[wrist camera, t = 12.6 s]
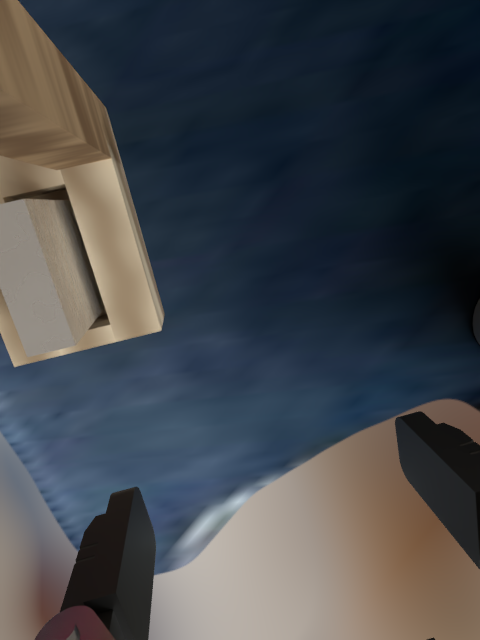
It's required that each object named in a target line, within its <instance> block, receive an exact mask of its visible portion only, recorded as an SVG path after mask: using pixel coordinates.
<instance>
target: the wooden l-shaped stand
mask: <svg viewBox="0 0 480 640" xmlns="http://www.w3.org/2000/svg"><path fill="white" fill-rule="evenodd" d="M21 199H42V200H70V202H71V205H72V208H73V211H74V214H75V217H76V220H77V223H78V226H79V229H80V232H81V235H82V239H83V242H84V245H85V248H86V251H87V254H88V257H89V260H90V263H91V266H92V269H93V272H94V275H95V279H96V282H97V285H98V288H99V291H100V294H101V297H102V300H103V303H104V306H105V308H104V310H103V311H102V312H101V314H100V315H99V316H98V317H97V319H96V320H95V321H94V323H93V324H92V325H91V326H90V328H89V329H88V330H87V332H86V333H85V334H84V335H83V337H82V338H81V339H80V341H79V342H78V343H77V344H76V346H72V347H68V348H64V349H60V350H56V351H52V352H48V353H43V354H39V355H35V356H31V357H27V355H26V353H25V350H24V348H23V345H22V342H21V340H20V337H19V335H18V332H17V330H16V327H15V325H14V322H13V319H12V317H11V314H10V312H9V309H8V307H7V304H6V302H5V299H4V296H3V294H2V291H1V289H0V333H1V335H2V338H3V340H4V343H5V345H6V348H7V350H8V352H9V355H10V357H11V360H12V362H13V365H14V367H16V366H20V365H24V364H28V363H32V362H36V361H41V360H45V359H49V358H53V357H57V356H61V355H65V354H69V353H73V352H77V351H81V350H85V349H89V348H93V347H97V346H101V345H105V344H109V343H114V342H118V341H122V340H126V339H130V338H134V337H138V336H142V335H146V334H150V333H154V332H158V331H161V330H162V324H163V319H164V310H163V307H162V303H161V300H160V296H159V293H158V289H157V286H156V282H155V279H154V275H153V271H152V268H151V264H150V261H149V257H148V254H147V250H146V247H145V243H144V240H143V236H142V233H141V229H140V226H139V222H138V218H137V215H136V211H135V208H134V204H133V201H132V197H131V194H130V190H129V187H128V183H127V180H126V176H125V172H124V169H123V165H122V162H121V158H120V155H119V151H118V148H117V144H116V141H115V137H114V134H113V130H112V127H111V123H110V119H109V116H108V112H107V109H106V107H105V106H104V105H103V104H102V102H101V101H100V100H99V99H98V97H97V96H96V95H95V94H94V93H93V91H92V90H91V89H90V88H89V86H88V85H87V84H86V83H85V82H84V80H83V79H82V78H81V77H80V76H79V74H78V73H77V72H76V71H75V69H74V68H73V67H72V66H71V65H70V63H69V62H68V61H67V60H66V58H65V57H64V56H63V55H62V54H61V52H60V51H59V50H58V49H57V47H56V46H55V45H54V44H53V43H52V41H51V40H50V39H49V38H48V37H47V35H46V34H45V33H44V32H43V30H42V29H41V28H40V27H39V26H38V24H37V23H36V22H35V21H34V19H33V18H32V17H31V16H30V15H29V13H28V12H27V11H26V10H25V9H24V7H23V6H22V5H21V4H20V2H19V1H18V0H0V204H3V203H7V202H12V201H16V200H21Z"/></svg>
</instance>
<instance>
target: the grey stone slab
mask: <svg viewBox="0 0 480 640" xmlns="http://www.w3.org/2000/svg"><path fill="white" fill-rule="evenodd" d="M0 289H1V291H2V294H3V296H4V299H5V302H6V304H7V307H8V309H9V312H10V314H11V317H12V319H13V322H14V325H15V327H16V330H17V332H18V335H19V337H20V340H21V342H22V345H23V348H24V350H25V353H26V355H27V357H31V356H35V355H39V354H43V353H48V352H52V351H56V350H60V349H64V348H68V347H72V346H76V344H77V343H78V342H79V341H80V339H81V338H82V337H83V335H84V334H85V333H86V332H87V330H88V329H89V328H90V326H91V325H92V324H93V323H94V321H95V320H96V319H97V317H98V316H99V315H100V314H101V312H102V311H103V310H104V308H105V306H104V303H103V300H102V297H101V294H100V291H99V288H98V285H97V282H96V279H95V275H94V272H93V269H92V266H91V263H90V260H89V257H88V254H87V251H86V248H85V245H84V242H83V239H82V235H81V232H80V229H79V226H78V223H77V220H76V217H75V214H74V211H73V208H72V205H71V202H70V200H42V199H21V200H16V201H12V202H7V203H3V204H0Z"/></svg>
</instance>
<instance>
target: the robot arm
mask: <svg viewBox="0 0 480 640" xmlns="http://www.w3.org/2000/svg"><path fill="white" fill-rule="evenodd" d="M473 331H474V335H475V337H476V340H477V342H478V343H479V344H480V298H479V300H478V303H477V305H476V307H475V310H474V314H473ZM395 426H396V434H397V442H398V450H399V459H400V463H401V467H402V469H403V472H404V474H405V476H406V478H407V480H408V481H409V482H410V484H411V485H412V486H413V487H414V488H415V490H416V491H417V492H418V494H419V495H420V496H421V497H422V499H423V500H424V501H425V502H426V503H427V505H428V506H429V507H430V508H431V510H432V511H433V512H434V513H435V514H436V516H437V517H438V518H439V520H440V521H441V522H442V523H443V525H444V526H445V527H446V528H447V530H448V531H449V532H450V533H451V535H452V536H453V537H454V538H455V539H456V541H457V542H458V543H459V545H460V546H461V547H462V548H463V549H464V551H465V552H466V553H467V554H468V556H469V557H470V558H471V559H472V561H473V562H474V563H475V564H476V566H477V567H478V568H479V569H480V445H479V444H477V443H476V442H473V440H472V439H471V438H470V437H469V436H468V435H466V434H465V433H464V432H463V431H461V430H460V429H457V428H455V427H452V426H450V425H447V424H445V423H441V424H435V423H434V422H433V421H432V420H431V419H430V418H429V417H427V416H426V415H425V414H424V413H423V412H416V413H412V414H408V415H405V416H401V417H397V418H396V420H395ZM155 554H156V542H155V535H154V530H153V527H152V524H151V521H150V518H149V515H148V512H147V509H146V506H145V503H144V501H143V498H142V495H141V492H140V490H139V488H138V487H134V488H130V489H126V490H122V491H119V492H115V493H112V494H111V496H110V499H109V503H108V507H107V511H106V514H102V515H98V516H96V517H95V518H94V520H93V521H92V522H91V524H90V525H89V526H88V528H87V529H86V530H85V532H84V535H83V539H82V542H81V545H80V550H79V552H78V555H77V558H76V564H75V565H74V568H73V571H72V574H71V578H70V581H69V584H68V587H67V591H66V594H65V597H64V601H63V604H62V607H61V610H60V613H58V614H57V615H55V616H54V617H53V618H52V619H51V620H49V621H48V622H47V623H46V624H45V626H44V627H43V628H42V629H41V630H40V632H39V633H38V635H37V636H36V638H35V640H148V635H149V624H150V613H151V601H152V589H153V577H154V566H155ZM428 640H435V639H434V638H431V639H428Z"/></svg>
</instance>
